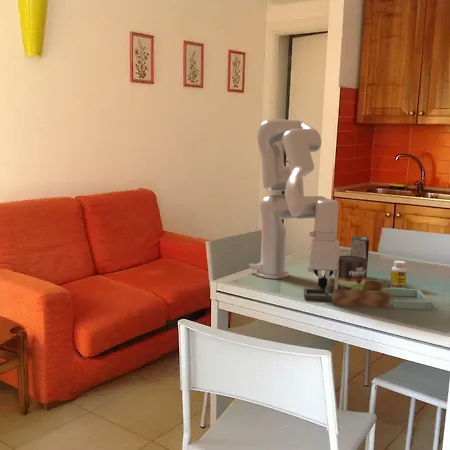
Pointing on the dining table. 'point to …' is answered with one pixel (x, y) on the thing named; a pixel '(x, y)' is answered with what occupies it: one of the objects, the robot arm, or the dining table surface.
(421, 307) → the dock
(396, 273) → the supplement bottle
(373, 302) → the channel
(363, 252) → the coffee box
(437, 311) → the dining table surface
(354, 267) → the coffee can
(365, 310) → the dining table surface
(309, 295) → the tray
